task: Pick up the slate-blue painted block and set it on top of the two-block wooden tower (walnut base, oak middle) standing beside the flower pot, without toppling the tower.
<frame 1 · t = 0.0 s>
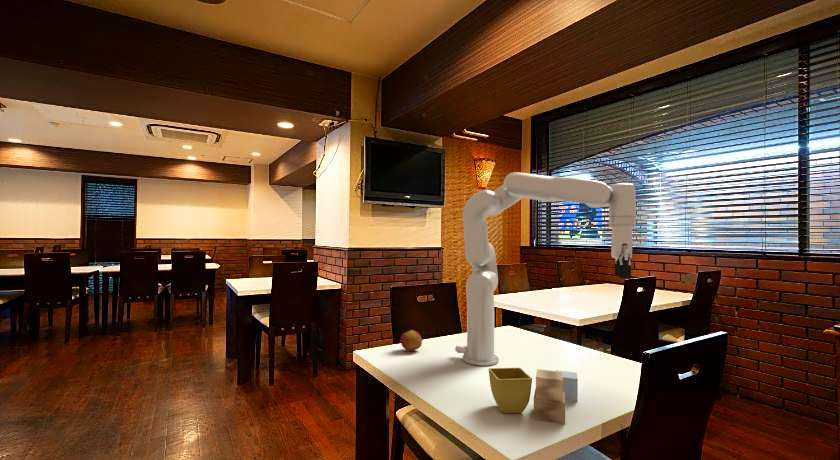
hand: (622, 276, 123), 31 cm above the table, fingers open, 9 cm apart
walnut base block: (549, 416, 94), on the table, touching oak middle block
flower pot: (509, 409, 97), on the table
slate block: (566, 396, 106), on the table
oak middle block: (549, 395, 94), point 5 cm above the table, touching walnut base block
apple: (411, 351, 148), on the table
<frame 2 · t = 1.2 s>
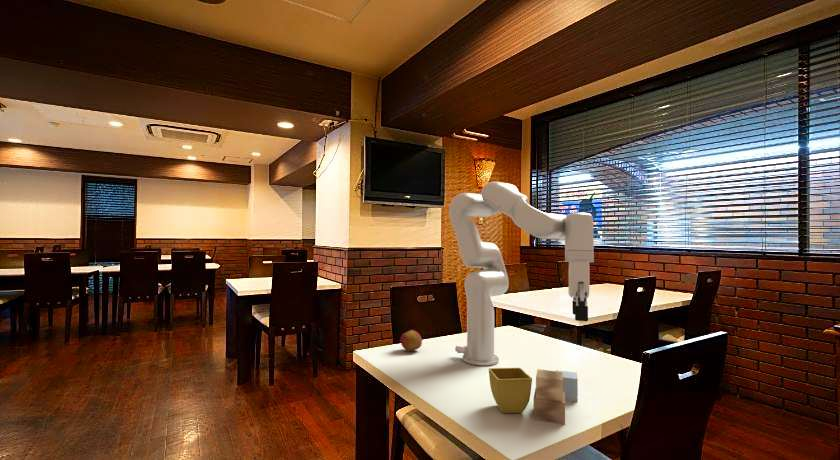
hand: (579, 317, 109), 21 cm above the table, fingers open, 9 cm apart
walnut base block: (549, 416, 94), on the table
oak middle block: (549, 395, 94), point 5 cm above the table
everything else where it was.
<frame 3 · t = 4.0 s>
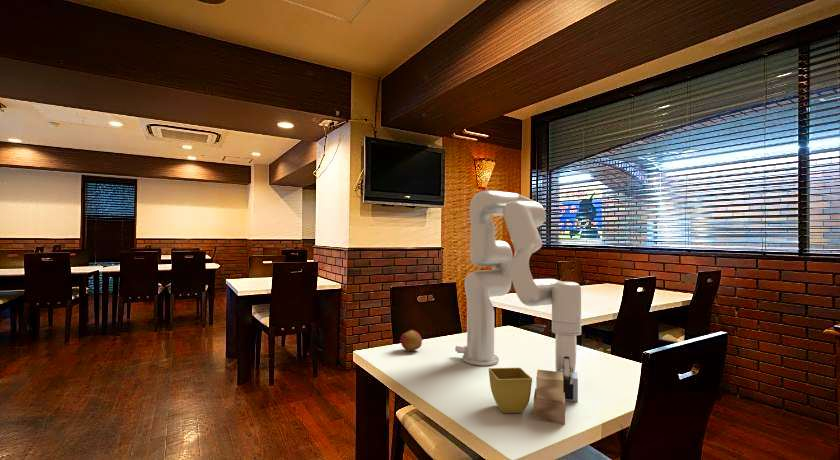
hand: (566, 393, 106), 1 cm above the table, fingers closed on slate block, 5 cm apart
slate block: (566, 396, 106), on the table, touching gripper
everything else where it was.
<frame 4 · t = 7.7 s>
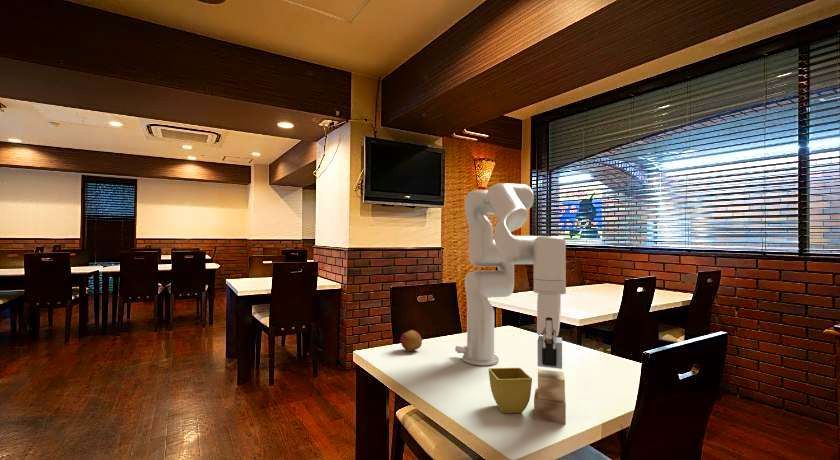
hand: (549, 360, 94), 13 cm above the table, fingers closed on slate block, 5 cm apart
walnut base block: (549, 416, 94), on the table, touching oak middle block
slate block: (550, 364, 94), point 12 cm above the table, touching gripper
oak middle block: (550, 395, 94), point 5 cm above the table, touching walnut base block
everything else where it was.
when the fingers open (12 cm above the table, at t = 8.3 s): slate block drops 1 cm, resting on oak middle block.
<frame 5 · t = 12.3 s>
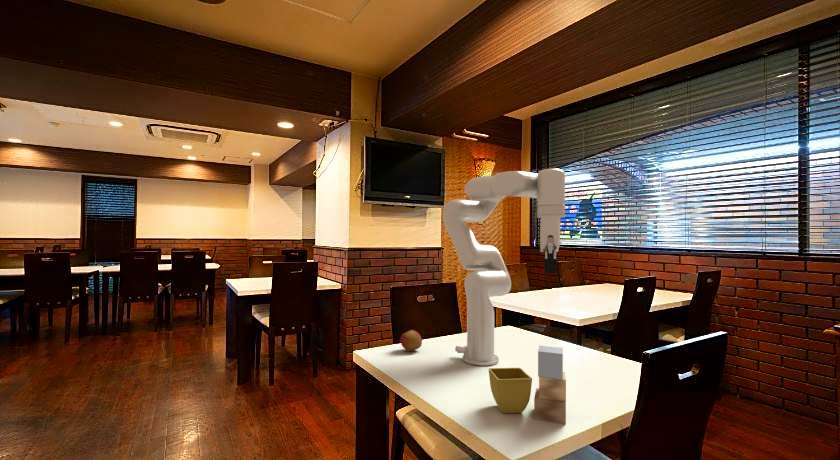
hand: (551, 272, 111), 33 cm above the table, fingers open, 9 cm apart
slate block: (550, 374, 94), point 10 cm above the table, touching oak middle block
oak middle block: (552, 395, 94), point 5 cm above the table, touching slate block, walnut base block
everything else where it was.
at the end: slate block 0.1 cm off-centre on the walnut base block, point 10.0 cm above the walnut base block's base; slate block tilted 0°; oak middle block 0.4 cm off-centre on the walnut base block, point 5.0 cm above the walnut base block's base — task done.
